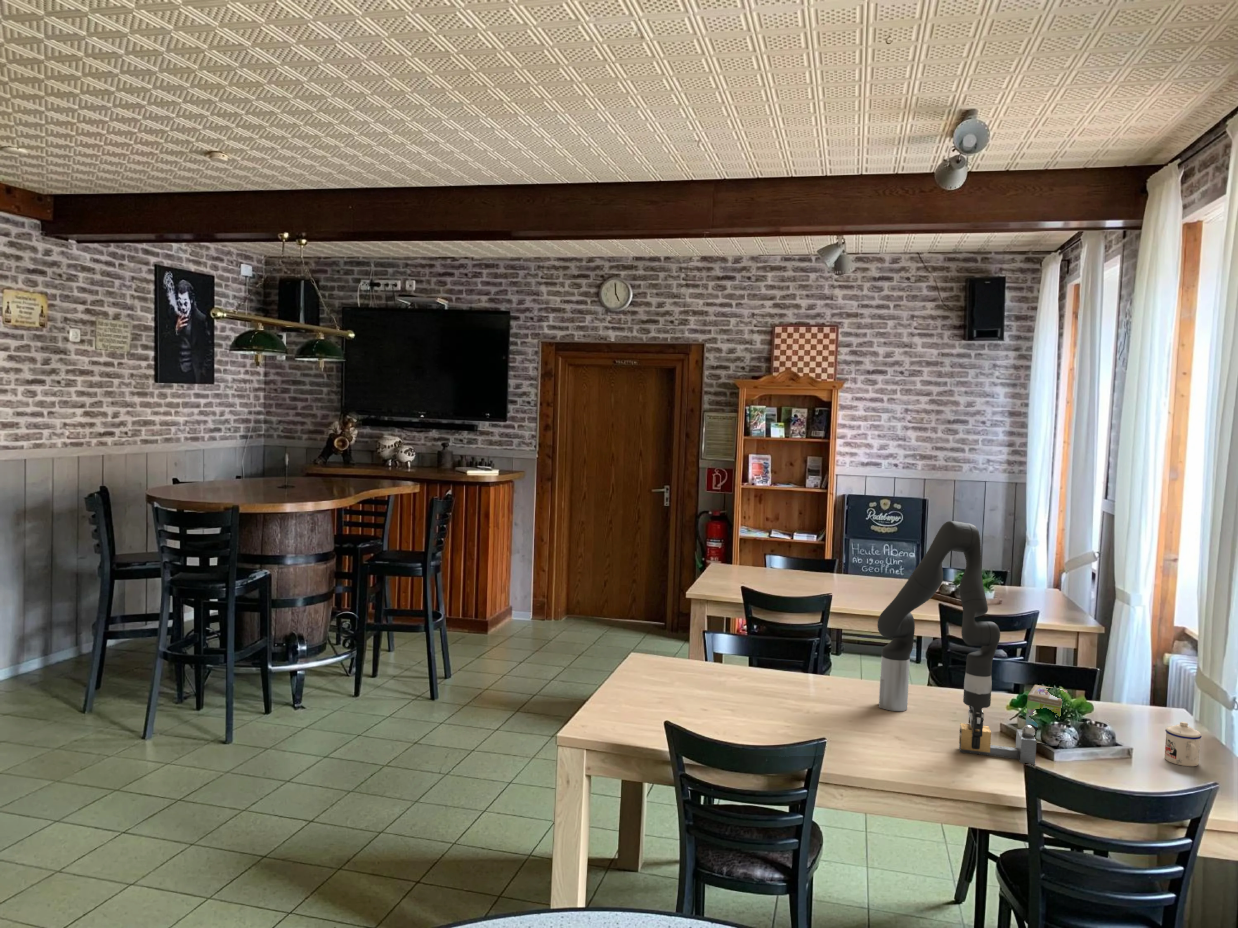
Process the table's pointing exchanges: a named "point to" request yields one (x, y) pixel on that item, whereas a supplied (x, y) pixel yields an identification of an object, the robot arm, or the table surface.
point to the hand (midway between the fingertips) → (974, 744)
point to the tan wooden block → (967, 738)
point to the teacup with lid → (1182, 745)
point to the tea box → (1041, 703)
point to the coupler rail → (1022, 751)
